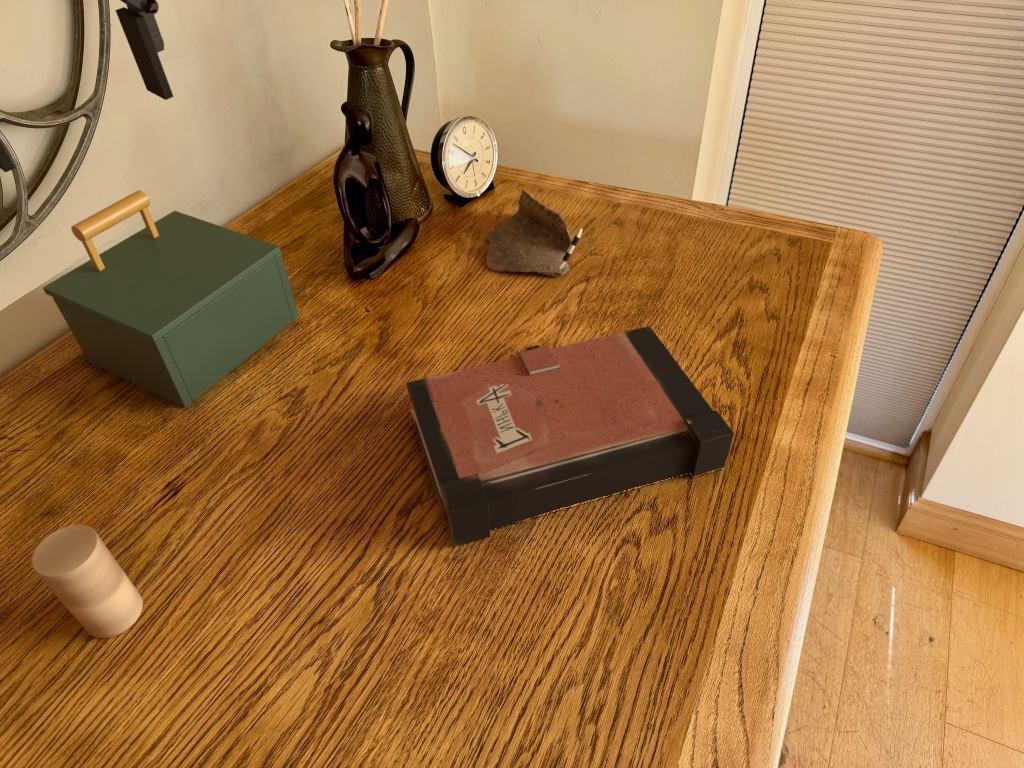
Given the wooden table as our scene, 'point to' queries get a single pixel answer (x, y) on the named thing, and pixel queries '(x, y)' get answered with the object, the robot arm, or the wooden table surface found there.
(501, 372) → the red and black box
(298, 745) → the wooden table surface
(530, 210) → the pottery fragment
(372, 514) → the wooden table surface
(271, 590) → the wooden table surface
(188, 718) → the wooden table surface
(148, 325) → the lid
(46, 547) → the peg
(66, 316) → the chest
